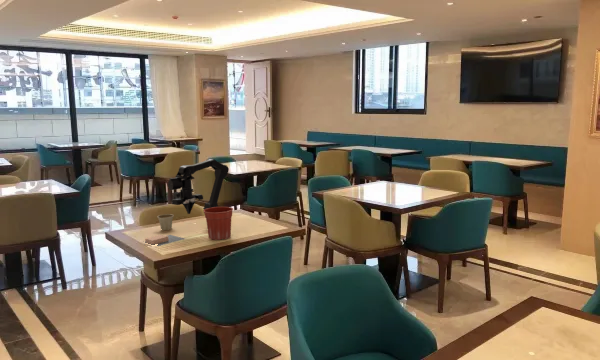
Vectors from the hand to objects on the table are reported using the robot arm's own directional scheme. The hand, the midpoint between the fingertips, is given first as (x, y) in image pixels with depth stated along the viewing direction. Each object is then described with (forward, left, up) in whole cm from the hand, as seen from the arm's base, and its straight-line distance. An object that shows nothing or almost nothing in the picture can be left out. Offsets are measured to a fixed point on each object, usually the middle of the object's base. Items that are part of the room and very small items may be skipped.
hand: (188, 213), depth 287 cm
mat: (+12, +16, -12) cm, 23 cm away
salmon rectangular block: (+11, +15, -10) cm, 21 cm away
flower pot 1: (+16, -11, -12) cm, 23 cm away
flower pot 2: (-19, +12, -12) cm, 25 cm away
